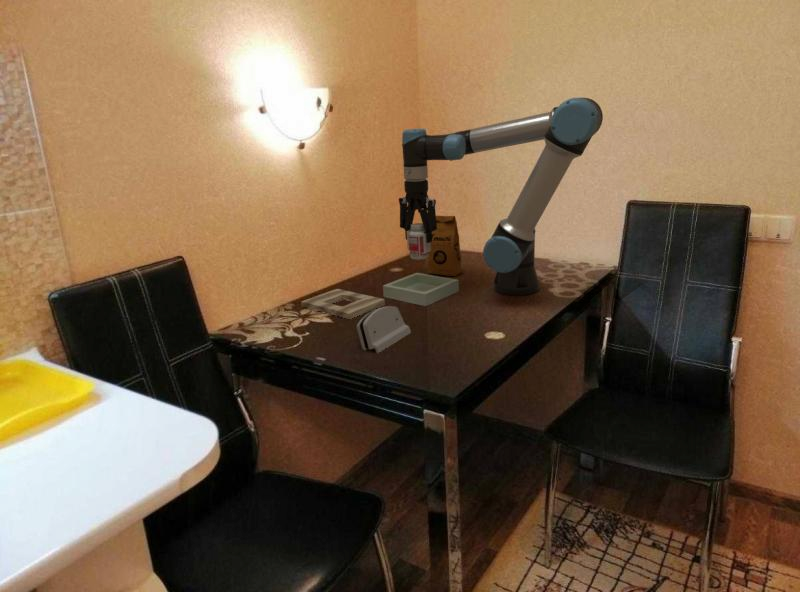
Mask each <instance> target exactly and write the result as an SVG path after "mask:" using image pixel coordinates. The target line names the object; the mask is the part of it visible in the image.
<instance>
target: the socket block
mask: <svg viewBox="0 0 800 592" xmlns="http://www.w3.org/2000/svg"><path fill="white" fill-rule="evenodd" d="M345 300H346V302H349V301H350V303H348V304H346V305H344V306H341V305H337V303H340V302H342V301H345ZM339 301H340V302H339ZM336 302H337V303H336ZM385 302H386V300H385V298H380V297H377V296H373V295H367V294H362V293H360V292H353V291H349V290H344V289H340V288H336V289H335V288H334V289H333V290H330V291H326V292H324V293H321V294H319V295H316V296H315V295H314V296H313V297H311V298H307V299H305V300H302V301H301V307H302V306H303V307H307V308H310V309H315V310H318V311H322V312H325V313H329V314H332V315H331V316H333V315H335V316H334V317H337V316H339V317H338V318H340V317H343V318H342V319H344V318H347V319H346V320H348V319H350V320H353V319H355V318H358V317H360V316H362V315H365V314H368V313H369V311H370V312H371V311H373V310H375V309H376V308H377V309H378V308H382V307H385V305H386V303H385ZM333 303H335V304H333ZM381 306H382V307H381ZM303 307H302V308H303ZM307 308H306V309H307ZM310 309H309V310H310ZM318 311H317V312H318ZM322 312H321V313H322ZM325 313H324V314H325ZM364 313H365V314H364ZM329 314H328V315H329ZM359 315H360V316H359ZM357 316H358V317H357ZM354 317H355V318H354ZM352 318H353V319H352Z"/></svg>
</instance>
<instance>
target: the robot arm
mask: <svg viewBox="0 0 800 592" xmlns="http://www.w3.org/2000/svg"><path fill="white" fill-rule="evenodd" d="M603 115H604V114H603V110H602V108H601V106H600V105H599V104H598V103H597V101H595V100H593V99H591V98H589V97H572V98H569V99H566V100H564V101H563V102H561V103H560V104H559V105H558V106H555V107H553V108H552V109H551V111H547V112H543V113H539V114H535V115H530V116H526V117H521V118H517V119H511V120H507V121H503V122H497V123H493V124H490V125H484V126H480V127H479V126H478V127H475V128H471V129H465V130H460V131H456V132H453V133H452V132H451V133H447V134H433V135H431V134H427V130H426V129H425V128H410V129H409V128H407V129H404V130H403V131H402V133H401V134H402V137H401V139H402V140H401V141H402V143H401V148H402V159H403V160H402V162H403V163H402V164H403V165H402V166H403V178H404V181H403V182H404V184H403V185H404V193H405V196H404V197H400V198H398V203H399V228H400V229H403V230H404V232H405V234H404V235H405V240H406V244H407V245H406V247H407V251H409V252H410V245H409V233H410V232H411V231H412V230H411V225H412V224H414V220H415V219H414V218H415V213H416V211H417V212H418V213H419V215H420V219H421V223H423V226H424V230H425V232H424V233H423V244H424V253H427V252H430V251H431V242H432V231H435V230H437V223H436V216H437V214H436V213H437V212H436V203H437V200H436V199H431V198H430V197H429V196H428V191H429V181H428V177H429V172H428V171H429V170H428V161H452V162H453V161H459V160H462V159H463V158H464V156H466V155H471V154H476V153H481V152H482V153H483V152H486V151H493V150H496V149H497V150H498V149H502V148H503V149H504V148H506V147H513V146H518V145H522V144H526V143H527V144H528V143H533V142H538V141H543V140H544V142H545V146H544V148H543V150H542V152H541V154H540V155H539V157H538V159H537V161H536V163H535V164H534V167H533V169H532V171H531V173H530V174H529V176H528V178H527V180H526V182H525V184H524V186H523V188H522V190H521V191H520V193H519V195H518V197H517V199H516V201H515V202H514V204H513V207H512V208H511V210H510V212H509V214H508V216H507V218H506V217H505V218H504V219H501V220H500V221H499V223H498V224H497V226H496V228H495V230H494V232H493V234H492V235H491V237H490V238H489V239H488V240H487V241H486V242H485V244H484V246H483V251H482V254H483V255H482V256H483V260H484V262H485V263H486V265H487V266H488V267H489V268H490V269H491V270H493V271H495V272H496V274H495V277H494V280H493V291H494V292H496V293H498V294H502V295H506V296H526V294H528V295H532V294H535V293H537V292H539V291H538V290H540V280H539V276H538V273H537V271H536V267H535V254H536V253H535V250H536V245H535V243H536V232H537V231H536V227H537V225H538V222H539V221H540V219H541V218H542V217H543V214H544V212H545V210H546V208H547V207H548V205H549V203H550V201H551V200H552V198H553V196H554V194H555V192H556V191H557V189H558V187H559V185H560V183H561V181H562V180H563V178H564V176H565V175H566V173H567V171H568V170H569V167H570V165H571V164H572V162H573V160H574V159H576V158H579V157H581V156H583V154H584V152H585V150H586V148H587V146H588V145H589V143H590V141H591V139H592V137H594V136H595V135H596V133H597V132H598V131H599V130H600V128H601V126H602V124H603V120H604V119H603V118H604V116H603ZM534 292H535V293H534ZM531 293H532V294H531Z"/></svg>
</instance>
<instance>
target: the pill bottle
mask: <svg viewBox="0 0 800 592" xmlns="http://www.w3.org/2000/svg"><path fill="white" fill-rule="evenodd" d="M411 230H412V231H411V232H410V233H409V245H410V251H409V256H410V259H412V260H426V259H428V257H429V252H427V253H424V244H423V233H424V232H425V230H424V226H423V223H422V222H417V223H413V224H412V225H411Z"/></svg>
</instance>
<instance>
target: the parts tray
mask: <svg viewBox="0 0 800 592" xmlns="http://www.w3.org/2000/svg"><path fill="white" fill-rule="evenodd" d="M459 283H460V282H459V279H455V278H450V277H445V276H443V277H442V276H440V275H439V276H438V275H434V274H428V273H421V272H415V273H413V274H410V275H406V276H404V277H401V278H399V279H397V280H396V279H395V280H394V281H392V282H388V283H386V284H383V285H382V293H383V298H386V299H391V300H396V301H400V302H405V303H409V304H412V305H413V304H414V305H419V306H421V307H422V306H424V307H427V306H430V305H432V304H434V303H436V302H438V301H441V300H443V299H446V298H447V297H450V296H451V295H454V294H457V293H459V291H460V289H459V287H460V285H459Z"/></svg>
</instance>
